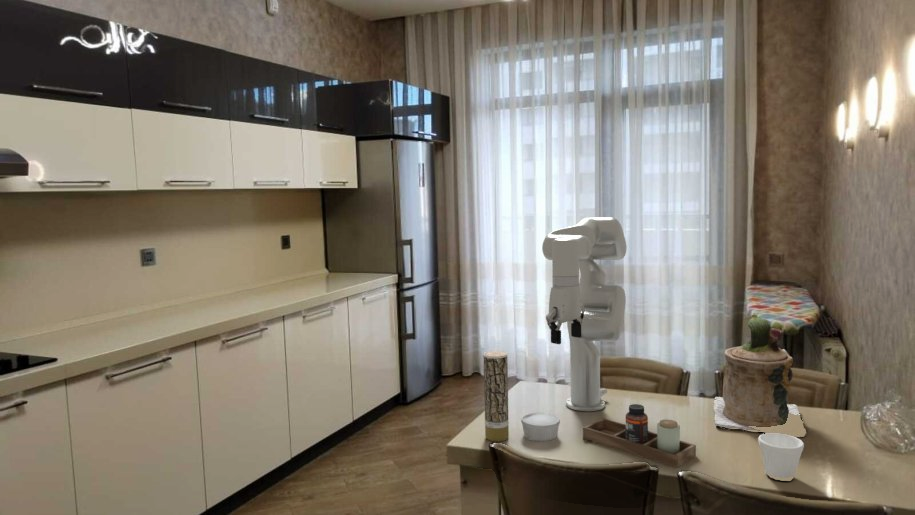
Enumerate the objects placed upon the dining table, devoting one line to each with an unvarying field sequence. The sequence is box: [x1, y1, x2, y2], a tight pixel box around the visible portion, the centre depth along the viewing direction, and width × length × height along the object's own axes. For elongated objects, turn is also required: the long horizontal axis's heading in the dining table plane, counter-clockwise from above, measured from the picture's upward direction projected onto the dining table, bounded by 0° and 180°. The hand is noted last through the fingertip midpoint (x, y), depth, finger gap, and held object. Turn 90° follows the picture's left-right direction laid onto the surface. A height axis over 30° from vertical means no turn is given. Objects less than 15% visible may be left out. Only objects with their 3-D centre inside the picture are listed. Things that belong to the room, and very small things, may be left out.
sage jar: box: [656, 418, 681, 455], centre depth 168 cm, size 6×6×9 cm
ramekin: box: [520, 412, 561, 442], centre depth 186 cm, size 11×11×5 cm
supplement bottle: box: [625, 403, 649, 445], centre depth 175 cm, size 6×6×11 cm
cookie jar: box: [713, 313, 803, 431], centre depth 193 cm, size 25×25×32 cm
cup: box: [757, 433, 805, 478], centre depth 156 cm, size 10×10×9 cm
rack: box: [582, 417, 697, 469], centre depth 175 cm, size 10×29×4 cm, turn 43°
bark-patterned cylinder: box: [483, 350, 510, 442], centre depth 184 cm, size 7×7×25 cm
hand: (566, 340), depth 184 cm, fingers open, 9 cm apart
